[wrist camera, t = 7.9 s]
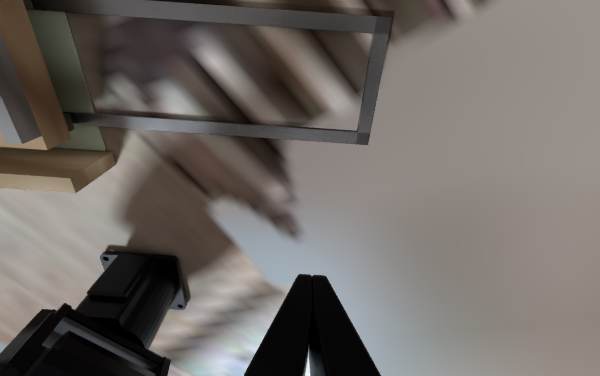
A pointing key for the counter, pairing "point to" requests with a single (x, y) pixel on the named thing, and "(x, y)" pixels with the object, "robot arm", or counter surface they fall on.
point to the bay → (72, 98)
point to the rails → (137, 4)
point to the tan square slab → (26, 86)
